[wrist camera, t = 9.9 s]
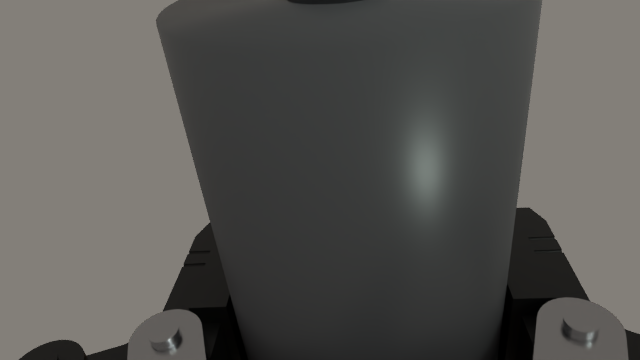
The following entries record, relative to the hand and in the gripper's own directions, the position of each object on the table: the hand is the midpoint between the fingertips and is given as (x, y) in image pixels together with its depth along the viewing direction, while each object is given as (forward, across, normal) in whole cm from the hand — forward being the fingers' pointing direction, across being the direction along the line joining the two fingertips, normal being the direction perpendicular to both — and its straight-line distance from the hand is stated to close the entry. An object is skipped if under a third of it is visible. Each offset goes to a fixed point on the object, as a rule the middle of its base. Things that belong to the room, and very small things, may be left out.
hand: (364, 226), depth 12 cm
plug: (-3, 0, +9) cm, 9 cm away
